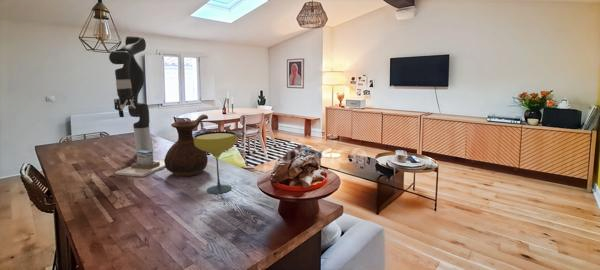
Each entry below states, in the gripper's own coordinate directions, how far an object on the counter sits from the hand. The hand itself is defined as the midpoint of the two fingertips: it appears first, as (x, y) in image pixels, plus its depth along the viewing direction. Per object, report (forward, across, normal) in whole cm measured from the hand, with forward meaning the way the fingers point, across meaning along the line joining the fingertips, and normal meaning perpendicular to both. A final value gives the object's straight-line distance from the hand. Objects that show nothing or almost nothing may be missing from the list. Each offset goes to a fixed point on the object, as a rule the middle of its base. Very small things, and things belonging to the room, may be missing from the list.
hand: (127, 116), depth 186 cm
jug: (+28, +9, +44) cm, 53 cm away
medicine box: (+27, +8, +16) cm, 32 cm away
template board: (+28, +8, +16) cm, 33 cm away
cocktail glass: (+28, +27, +73) cm, 83 cm away
